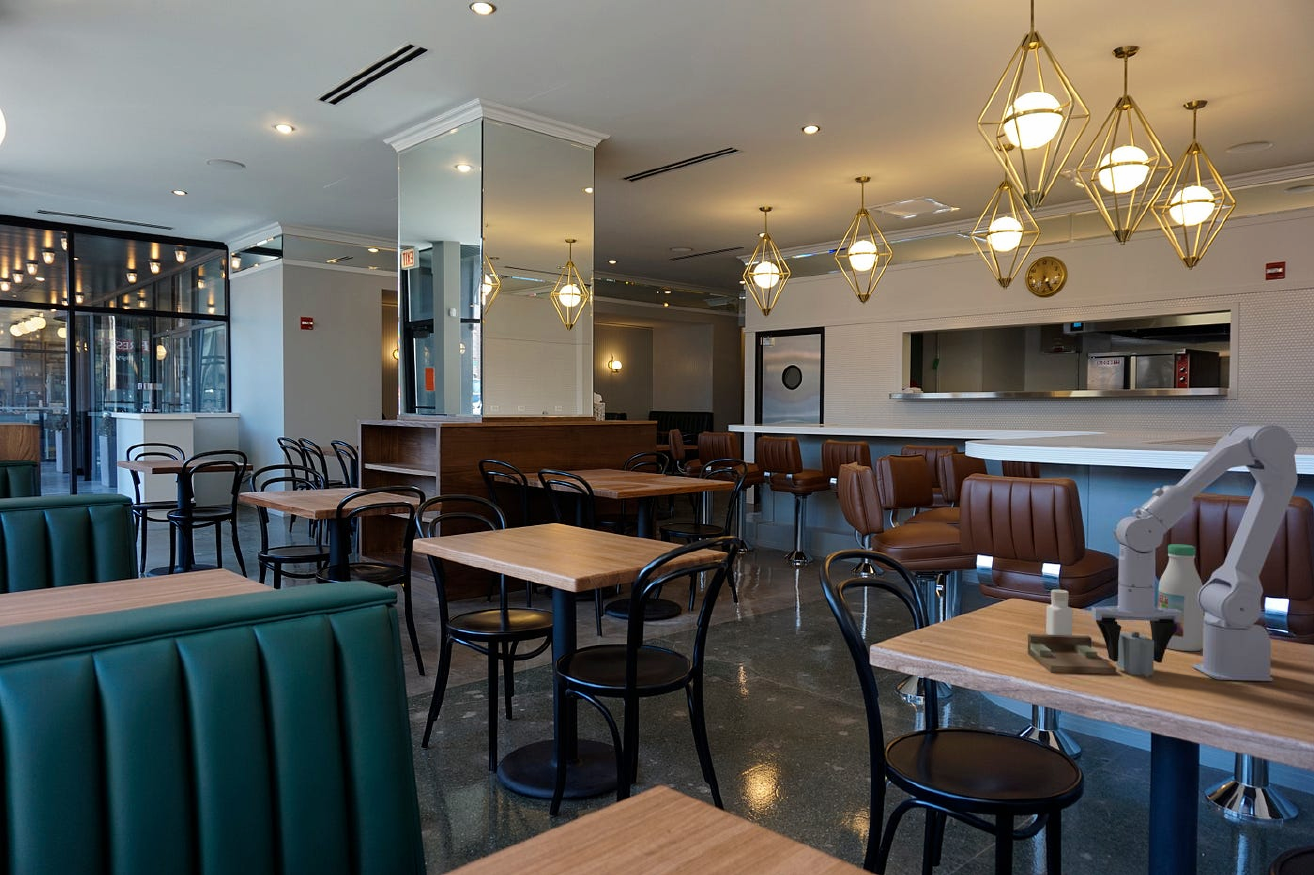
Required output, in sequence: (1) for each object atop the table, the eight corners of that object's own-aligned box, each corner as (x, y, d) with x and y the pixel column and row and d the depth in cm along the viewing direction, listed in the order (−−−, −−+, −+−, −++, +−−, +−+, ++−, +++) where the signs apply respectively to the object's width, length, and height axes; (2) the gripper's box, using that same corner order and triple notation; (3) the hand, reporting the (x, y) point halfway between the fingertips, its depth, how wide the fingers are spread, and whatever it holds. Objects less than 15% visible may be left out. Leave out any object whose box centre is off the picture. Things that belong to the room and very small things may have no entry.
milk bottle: (1190, 642, 172) (1192, 542, 171) (1210, 652, 164) (1213, 548, 164) (1149, 641, 173) (1151, 542, 172) (1168, 651, 165) (1170, 548, 164)
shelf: (1087, 655, 162) (1088, 635, 162) (1115, 674, 150) (1116, 653, 150) (1027, 653, 163) (1028, 634, 163) (1050, 672, 151) (1051, 651, 151)
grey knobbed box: (1139, 666, 155) (1140, 629, 155) (1160, 679, 148) (1160, 640, 148) (1116, 666, 156) (1117, 628, 155) (1135, 678, 148) (1136, 639, 148)
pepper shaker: (1073, 640, 173) (1074, 593, 173) (1053, 639, 173) (1054, 593, 173) (1064, 634, 177) (1065, 589, 177) (1044, 634, 177) (1045, 588, 177)
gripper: (1167, 581, 156) (1166, 655, 156) (1084, 579, 157) (1083, 653, 158) (1188, 589, 149) (1186, 666, 149) (1101, 587, 150) (1099, 664, 151)
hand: (1134, 660), depth 153 cm, fingers open, 7 cm apart
